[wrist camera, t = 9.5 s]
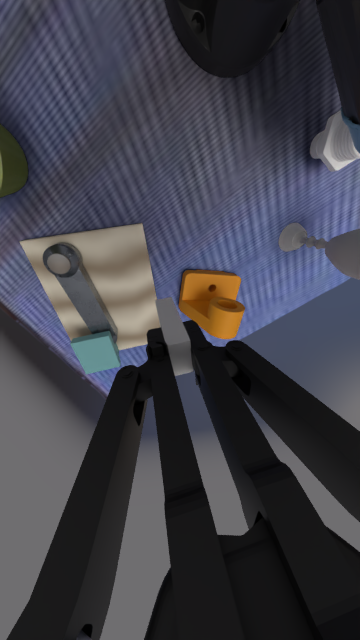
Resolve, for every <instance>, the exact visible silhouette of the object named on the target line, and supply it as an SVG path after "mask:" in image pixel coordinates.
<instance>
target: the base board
mask: <svg viewBox="0 0 360 640" xmlns="http://www.w3.org/2000/svg"><path fill="white" fill-rule="evenodd" d="M59 242H65V243H69V244H71V245H73V246H75V247H76V248H77V249H78V250H79V252H80V253H81V255H82V260H83V261H82V263H83V265H84V267H85V269H86V271H87V273H88V275H89V276H90V278H91V280H92V282H93V284H94V286H95V288H96V289H97V291H98V293H99V295H100V297H101V299H102V301H103V303H104V304H105V306H106V308H107V310H108V312H109V314H110V316H111V317H112V319H113V321H114V323H115V325H116V327H117V329H118V336H117V342H116V344H117V346H118V349H119V350H122V349H127V348H131V347H136V346H140V345H145V344H148V342H147V335H146V334H147V332H148V330H150V329H155V328H159V327H160V323H159V318H158V313H157V308H156V303H155V300H157V297H156V292H155V287H154V282H153V276H152V271H151V266H150V261H149V256H148V250H147V245H146V240H145V235H144V230H143V225H142V223H139V224H132V225H125V226H118V227H111V228H104V229H97V230H90V231H83V232H76V233H69V234H62V235H55V236H48V237H41V238H34V239H28V240H23V241H20V244H21V245H22V247H23V249H24V251H25V253H26V255H27V257H28V259H29V261H30V263H31V265H32V267H33V268H34V270H35V272H36V274H37V276H38V278H39V280H40V282H41V284H42V286H43V288H44V290H45V291H46V293H47V295H48V297H49V299H50V301H51V303H52V305H53V307H54V309H55V311H56V312H57V314H58V316H59V318H60V320H61V322H62V324H63V326H64V328H65V330H66V332H67V334H68V335H69V337H70V339H71V341H72V339H73V338H77V337H82V336H87V335H91V334H92V333H91V331H90V330H89V328H88V327H87V325H86V324H85V322H84V321H83V319H82V317H81V316H80V314H79V313H78V311H77V310H76V308H75V306H74V305H73V303H72V302H71V300H70V299H69V297H68V296H67V294H66V292H65V291H64V289H63V288H62V286H61V285H60V283H59V281H58V280H57V278H56V277H55V275H53V274H52V273H50V272H49V271H48V270H47V269H46V267H45V265H44V263H43V253H44V251H45V250H46V249H47V248H48V247H50V246H52V245H54V244H56V243H59ZM47 264H48V266H49V268H50V269H51V270H52V271H53V272H55V273H58V274H64V273H66V272H68V270H69V269H70V268H71V261H70V259H69V258H68V257H67V256H66V255H64V254H62V253H54V254H52V255H51V256H50V257H49V258H48V260H47Z"/></svg>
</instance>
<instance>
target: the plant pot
mask: <svg viewBox="0 0 360 640" xmlns="http://www.w3.org/2000/svg"><path fill="white" fill-rule="evenodd" d="M27 178H28V165H27V161H26V157H25V154H24V152H23V150H22V148H21V147H20V145H19V144H18V142H17V141H16V139H15V138H14V137H13V136H12V134H11V133H10V132H9V131H8V130H7V129H6V128H4V127H3V126H2V125H1V124H0V198H1V197H3V196H6V195H9V194H12V193H15V192H17V191H18V190H20V189H21V188H22V187H23V186H24V185H25V183H26V181H27Z"/></svg>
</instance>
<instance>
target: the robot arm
mask: <svg viewBox="0 0 360 640" xmlns="http://www.w3.org/2000/svg"><path fill="white" fill-rule="evenodd" d="M165 1H166V5H167V9H168V12H169V15H170V18H171V21H172V24H173V26H174V29H175V31H176V33H177V35H178V37H179V39H180V41H181V43H182V45H183V46H184V48H185V49H186V51H187V52H188V54H189V55H190V56H191V57H192V59H193V60H194V61H195V62H196V63H197V64H198V65H199V66H200V67H202V68H203V69H204V70H206V71H207V72H209V73H211V74H213V75H216V76H220V77H236V76H240V75H242V74H245V73H247V72H248V71H250V70H251V69H253V68H254V67H255V66H257V65H258V64H259V63H260V62H261V61H262V60H263V59H264V58H265V56H266V55H267V54H268V53H269V52H270V51H271V50H272V49H273V47H274V46H275V45H276V44H277V42H278V41H279V40H280V38H281V37H282V35H283V34H284V32H285V30H286V29H287V27H288V25H289V23H290V21H291V19H292V17H293V15H294V13H295V11H296V9H297V7H298V4H299V2H300V0H165ZM316 4H317V9H318V13H319V17H320V21H321V25H322V29H323V33H324V37H325V41H326V45H327V49H328V53H329V57H330V60H331V64H332V68H333V72H334V76H335V80H336V84H337V88H338V92H339V96H340V101H341V105H342V107H341V116H342V120H343V121H344V123H345V124H346V125H347V126H348V129H349V132H350V135H351V138H352V141H353V144H354V147H355V149H356V150H357V151H358V153H360V0H316ZM155 303H156V308H157V313H158V318H159V323H160V327H159V328H155V329H150V330H148V332H147V334H146V335H147V342H148V346H147V347H146V352H147V356H148V360H147V362H146V363H144V364H143V365H141V366H139V367H136V366H134V365H128V366H125V367H123V368H121V369H120V370H119V371H118V372H117V374H116V376H115V379H114V382H113V384H112V387H111V389H110V392H109V395H108V397H107V400H106V403H105V405H104V408H103V410H102V413H101V415H100V418H99V421H98V424H97V426H96V429H95V431H94V434H93V436H92V439H91V441H90V444H89V447H88V450H87V452H86V455H85V457H84V460H83V462H82V465H81V467H80V470H79V473H78V476H77V478H76V480H75V483H74V486H73V488H72V491H71V493H70V496H69V499H68V501H67V504H66V506H65V509H64V512H63V514H62V517H61V519H60V522H59V525H58V527H57V530H56V532H55V535H54V538H53V540H52V543H51V545H50V548H49V551H48V553H47V556H46V559H45V561H44V564H43V566H42V569H41V571H40V574H39V577H38V579H37V582H36V585H35V587H34V590H33V592H32V595H31V598H30V600H29V602H28V604H27V605H26V607H25V609H24V611H23V612H22V614H21V616H20V617H19V619H18V621H17V623H16V624H15V626H14V628H13V629H12V631H11V633H10V634H9V636H8V638H7V640H99V639H100V636H101V633H102V629H103V626H104V622H105V619H106V615H107V611H108V608H109V604H110V599H111V595H112V590H113V586H114V581H115V576H116V571H117V565H118V560H119V554H120V549H121V543H122V537H123V532H124V527H125V521H126V516H127V510H128V505H129V499H130V494H131V488H132V483H133V477H134V472H135V466H136V461H137V455H138V450H139V445H140V439H141V434H142V428H143V422H144V417H145V411H146V406H147V399H148V398H150V397H152V396H153V401H154V409H155V418H156V426H157V434H158V442H159V451H160V460H161V468H162V476H163V485H164V493H165V504H164V505H165V519H166V528H167V537H168V546H169V555H170V563H171V568H170V569H169V571H168V573H167V575H166V576H165V578H164V580H163V583H162V585H161V588H160V590H159V593H158V596H157V599H156V602H155V605H154V608H153V612H152V615H151V618H150V622H149V625H148V628H147V632H146V635H145V638H144V640H360V552H359V551H358V550H356V549H355V548H354V547H353V546H351V545H350V544H349V543H347V542H346V541H345V540H343V539H342V538H341V537H340V536H338V535H337V534H336V533H335V532H333V531H332V530H330V529H329V528H328V527H326V526H325V525H324V523H323V522H322V520H321V518H320V517H319V515H318V513H317V512H316V510H315V508H314V507H313V505H312V503H311V502H310V500H309V498H308V497H307V495H306V493H305V492H304V490H303V488H302V487H301V485H300V483H299V482H298V480H297V478H296V477H295V475H294V474H293V472H292V471H291V469H290V468H289V467H288V466H287V465H286V464H284V463H282V462H281V461H280V460H279V459H278V458H277V456H276V455H275V453H274V451H273V450H272V448H271V446H270V444H269V443H268V441H267V439H266V438H265V436H264V434H263V432H262V430H261V429H260V427H259V425H258V423H257V422H256V420H255V418H254V417H253V415H252V413H251V411H250V409H249V408H248V406H247V404H246V403H245V401H244V399H245V400H246V401H247V402H248V403H249V405H251V407H252V408H253V409H254V410H255V411H256V412H257V413H258V414H259V415H260V416H261V418H262V419H263V420H264V421H265V422H266V423H267V424H268V425H269V426H270V427H271V428H272V430H273V431H274V432H275V433H276V434H277V435H278V436H279V437H280V438H281V439H282V441H283V442H284V443H285V444H286V445H287V446H288V447H289V448H290V449H291V450H292V452H293V453H294V454H295V455H296V456H297V457H298V458H299V459H300V460H301V461H302V462H303V463H304V465H305V466H306V467H307V468H308V469H309V470H310V471H311V472H312V473H313V474H314V476H315V477H316V478H317V479H318V480H319V481H320V482H321V483H322V484H323V485H324V486H325V488H326V489H327V490H328V491H329V492H330V493H331V494H332V495H333V496H334V497H335V498H336V499H337V500H338V501H339V503H340V504H341V505H342V506H343V507H344V508H345V509H346V510H347V511H348V512H349V513H350V514H351V515H353V516H354V517H355V518H356V519H357V520H358V521H359V522H360V431H358V430H357V429H356V428H355V427H353V426H352V425H351V424H349V423H348V422H347V421H345V420H344V419H343V418H341V417H340V416H339V415H337V414H336V413H335V412H334V411H332V410H331V409H329V408H328V407H327V406H326V405H325V404H323V403H322V402H321V401H319V400H318V399H317V398H315V397H314V396H313V395H312V394H310V393H309V392H308V391H306V390H305V389H304V388H302V387H301V386H300V385H298V384H297V383H296V382H295V381H293V380H292V379H290V378H289V377H288V376H287V375H285V374H284V373H283V372H281V371H280V370H279V369H278V368H276V367H275V366H274V365H272V364H271V363H270V362H268V361H267V360H266V359H264V358H263V357H262V356H261V355H259V354H258V353H257V352H255V351H254V350H253V349H252V348H250V347H249V346H248V345H246V344H244V343H243V342H241V341H238V340H233V341H229V342H228V343H227V344H226V347H217V346H213V345H212V344H211V343H210V342H208V341H207V340H206V338H205V337H204V335H203V333H202V331H201V329H200V328H199V326H198V324H197V323H196V322H195V321H193V320H190V321H185V322H182V320H181V318H180V316H179V313H178V311H177V309H176V306H175V304H174V302H173V300H172V297H169V298H164V299H159V300H155ZM193 368H194V370H195V377H196V385H199V388H200V391H201V394H202V396H203V399H204V401H205V404H206V407H207V410H208V413H209V415H210V418H211V421H212V423H213V426H214V429H215V432H216V434H217V437H218V440H219V442H220V445H221V448H222V450H223V453H224V456H225V458H226V461H227V464H228V467H229V469H230V472H231V475H232V477H233V480H234V483H235V485H236V488H237V491H238V494H239V496H240V500H241V504H242V509H243V513H244V516H245V519H246V522H247V525H248V528H249V530H248V531H247V532H246V533H245V534H244V535H241V536H233V535H217V532H216V528H215V524H214V521H213V517H212V513H211V509H210V506H209V502H208V499H207V495H206V492H205V489H204V486H203V482H202V479H201V475H200V471H199V467H198V463H197V459H196V456H195V452H194V448H193V444H192V440H191V436H190V432H189V429H188V425H187V421H186V417H185V413H184V410H183V406H182V402H181V398H180V394H179V390H178V386H177V382H176V379H175V376H177V375H181V374H185V373H189V372H193ZM243 398H244V399H243Z"/></svg>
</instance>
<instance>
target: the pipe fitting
mask: <svg viewBox="0 0 360 640" xmlns="http://www.w3.org/2000/svg"><path fill="white" fill-rule="evenodd" d="M310 155H311V157H312V158H314V159H321V160H322V161H323V163H324V164H325V165H326V166H327V168H328V169H329V170H330V171H331V172H332V171H338V170H340V169H341V168H343V167H344V166H346V165H347V164H349V163H351V162H352V161H354V160H355V159H359V158H360V153H358V151H357V150H356V149H355V147H354V144H353V141H352V138H351V135H350V132H349V129H348V126H347V125H346V124H345V123H344V121H343V120H342V116H341V110H340V111H338V112H337V113H335V114H334V115H332V116H331V117H330V118H329V119H328V121H327V124H326V127H325V130H324V131H322V132H321V133H319V134H317V135H316V136H315V137H314V139H313V140H312V143H311V146H310Z"/></svg>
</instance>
